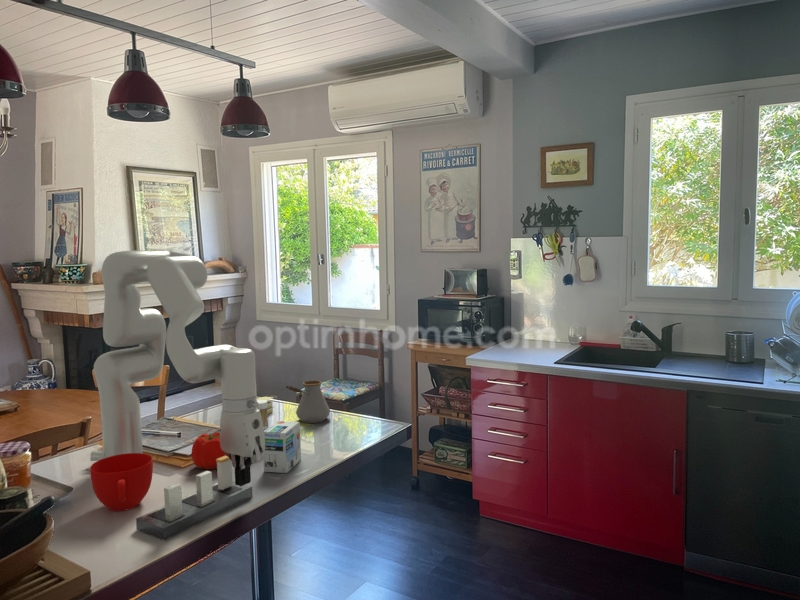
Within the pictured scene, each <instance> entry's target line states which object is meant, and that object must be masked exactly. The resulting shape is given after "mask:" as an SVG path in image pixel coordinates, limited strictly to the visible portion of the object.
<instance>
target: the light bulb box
mask: <svg viewBox="0 0 800 600" xmlns="http://www.w3.org/2000/svg"><path fill="white" fill-rule="evenodd" d="M264 437H265V451H264V452H262V455H263V456H262V457H263V462H262V463H263V472H264V473H278V474H279V473H280V474H287V473H288V472H290V471H291V470H292V469H293V468H294V467H295V466H296V465H297V464H299V463H300V462H301V460H302V446H301V423H300V421H288V420H287V421H285V420H277V421H276V422H274V423H273V424H272V425H270V426H268V428H267V429H266V430H265V431H264Z"/></svg>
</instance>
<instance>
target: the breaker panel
mask: <svg viewBox="0 0 800 600" xmlns="http://www.w3.org/2000/svg"><path fill="white" fill-rule="evenodd" d="M232 481H233V480H232ZM195 483H196V484H195V485H196V486H195V487H196V491H195V492H193V493H191V494H189V495H186V496H185V497H184V496H182V484H180V483H174V484H171V485H169V486H166V487H164V488H163V493H164V494H163V495H164V505H163V506H161V507H159V508H156V509H154V510H152V511H149V512H148V513H145V514H142V515H140V516H138V517H136V518H135V526H136V531H138V532H141V533H143V534H146V535H149V536H152V537H154V538H157V539H160V540H163V541H166V540H168V539H169V540H170V538H173V537H174V536H177V535H178V534H180V533H183V532H185V531H186V530H188V529H190V528H192V527H195V526H197V525H199V524H201V523H203V522H205V521H206V520H209V519H211V518H213V517H215V516H217V515H219V514H220V513H222V512H224V511H227V510H228V509H231V508H234V507H235V506H237V505H239V504H241V503H243V502H245V501H247V500H249V499H252V498H253V486H251V485H249V484H245V485H243V486H239V485H235V480H234V481H233V485H232V486H230V487H228V488H225V489H223V490H222V489H218V482H216V483H214V484H213V475H212V471H209V470H205V471H202V472H200V473H198V474H196V475H195Z"/></svg>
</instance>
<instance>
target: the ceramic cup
mask: <svg viewBox="0 0 800 600" xmlns="http://www.w3.org/2000/svg"><path fill="white" fill-rule="evenodd" d="M153 468H154V459H153V457H152V455H150V454H147V453H144V452H143V453H128V454H120V455H115V456H110V457H107V458H104V459H101V460H99V461H94V462H93V463H92V464H91V465H90V467H89V473H90V474H89V475H90V480H91V484H92V490H93V492H94V495H95V497H96V498H97V499H98V501H99V502H100V503H101V504H103V506H105V507H106V508H107V509H108V510H109V511H111V512H123V511H124V512H125V511H128V510H131V509H134V508H136V507H138V506H139V505H140V504H141V502H142V501H143V499H144V498H145V497H146V495H148V492H149V490H150V488H151V485H152V484H151V483H152V480H153V473H154V469H153Z"/></svg>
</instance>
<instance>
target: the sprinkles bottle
mask: <svg viewBox="0 0 800 600" xmlns="http://www.w3.org/2000/svg"><path fill="white" fill-rule="evenodd" d="M257 402H258V404H259V405H258V407H257V409H258V410H260V413H261V417H262V422H263V428H264V431H265V430H266V429H267V428H269V419H268V418H269V417H268V415H267V407H268V403H267V401H266V400H257Z"/></svg>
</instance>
